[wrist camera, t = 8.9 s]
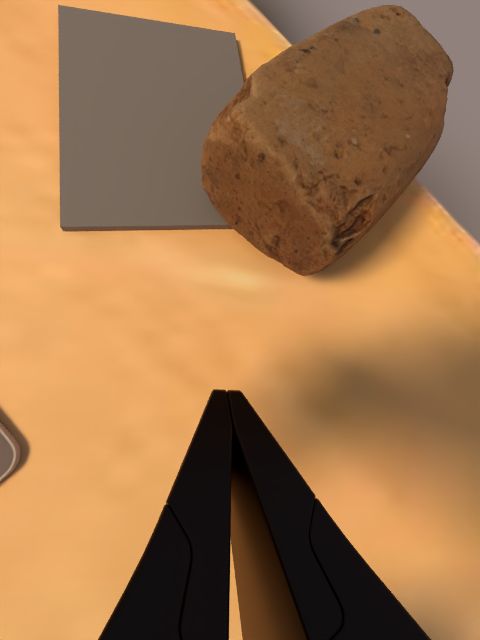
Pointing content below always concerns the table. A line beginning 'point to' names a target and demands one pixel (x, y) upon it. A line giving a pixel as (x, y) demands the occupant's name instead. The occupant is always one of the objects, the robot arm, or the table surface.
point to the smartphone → (8, 452)
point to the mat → (138, 120)
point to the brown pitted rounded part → (328, 136)
